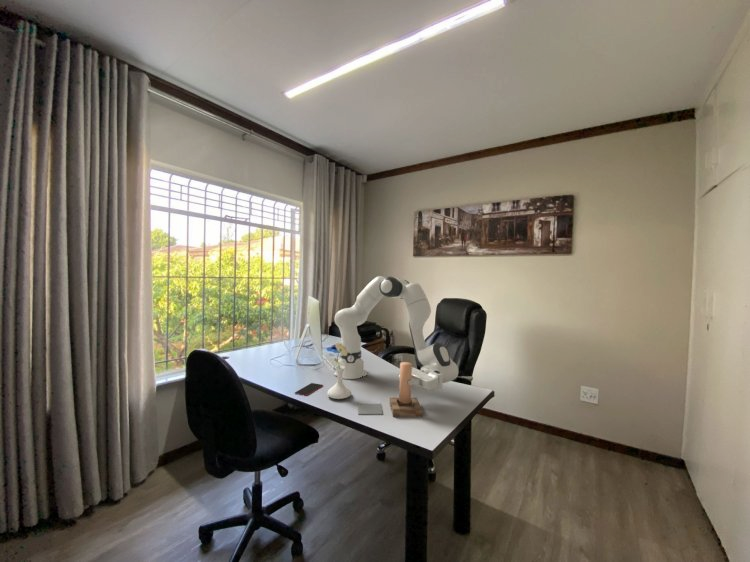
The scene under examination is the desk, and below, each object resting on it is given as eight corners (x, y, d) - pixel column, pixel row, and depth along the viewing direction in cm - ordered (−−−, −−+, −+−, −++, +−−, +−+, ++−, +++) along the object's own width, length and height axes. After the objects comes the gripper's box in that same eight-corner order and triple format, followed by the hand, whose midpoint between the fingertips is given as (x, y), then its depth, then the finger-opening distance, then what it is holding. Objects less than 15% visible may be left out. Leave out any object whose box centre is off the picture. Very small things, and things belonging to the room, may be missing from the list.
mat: (358, 404, 133) (358, 403, 133) (380, 404, 134) (380, 403, 134) (358, 414, 123) (358, 413, 123) (382, 414, 124) (382, 413, 124)
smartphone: (293, 392, 144) (311, 382, 158) (293, 394, 144) (311, 384, 158) (306, 395, 141) (323, 384, 155) (306, 397, 141) (323, 386, 155)
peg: (398, 398, 131) (399, 362, 131) (409, 398, 131) (410, 362, 131) (400, 403, 126) (401, 365, 126) (411, 403, 126) (412, 365, 126)
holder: (389, 404, 134) (389, 397, 134) (416, 404, 135) (416, 397, 135) (393, 416, 122) (393, 409, 122) (422, 416, 123) (422, 409, 123)
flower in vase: (354, 399, 138) (355, 345, 138) (330, 402, 134) (331, 346, 134) (346, 389, 151) (347, 339, 150) (323, 392, 146) (325, 341, 146)
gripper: (414, 362, 144) (390, 366, 137) (444, 375, 126) (419, 380, 119) (413, 375, 144) (389, 380, 137) (444, 390, 126) (418, 396, 119)
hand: (403, 380), depth 128 cm, fingers closed on peg, 5 cm apart
